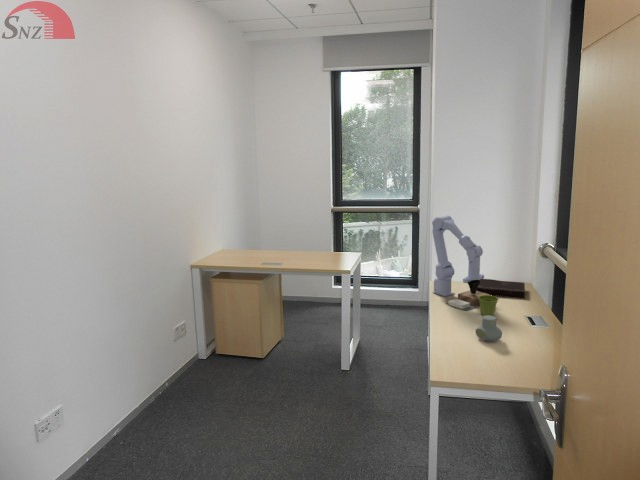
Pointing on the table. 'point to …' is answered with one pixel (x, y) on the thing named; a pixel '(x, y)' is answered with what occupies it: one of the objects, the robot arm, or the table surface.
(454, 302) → the off-white rectangular block
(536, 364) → the table surface
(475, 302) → the brown shallow square box
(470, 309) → the mat
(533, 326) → the table surface
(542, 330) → the table surface
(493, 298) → the plant pot
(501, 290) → the diary
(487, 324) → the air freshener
